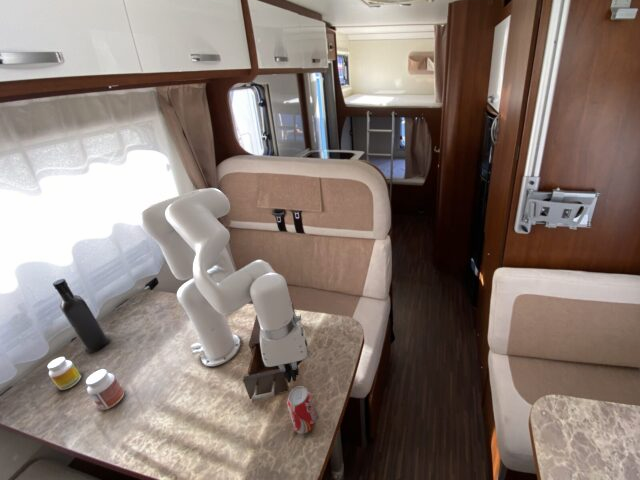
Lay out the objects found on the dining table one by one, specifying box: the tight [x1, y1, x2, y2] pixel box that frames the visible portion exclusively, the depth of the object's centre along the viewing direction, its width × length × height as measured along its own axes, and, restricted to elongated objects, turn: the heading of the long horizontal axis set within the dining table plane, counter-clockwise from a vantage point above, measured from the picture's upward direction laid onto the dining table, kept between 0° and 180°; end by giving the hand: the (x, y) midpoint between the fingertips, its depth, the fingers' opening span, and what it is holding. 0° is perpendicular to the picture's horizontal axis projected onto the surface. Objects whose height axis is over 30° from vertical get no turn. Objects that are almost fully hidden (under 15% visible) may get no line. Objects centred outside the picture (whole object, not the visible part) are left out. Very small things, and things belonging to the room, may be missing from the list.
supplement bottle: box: [47, 356, 82, 391], centre depth 98 cm, size 5×5×10 cm
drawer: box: [242, 345, 290, 403], centre depth 94 cm, size 19×11×9 cm, turn 11°
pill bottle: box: [85, 368, 125, 411], centre depth 91 cm, size 6×6×11 cm
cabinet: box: [248, 302, 296, 355], centre depth 107 cm, size 16×13×11 cm
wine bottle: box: [52, 278, 109, 353], centre depth 107 cm, size 6×6×30 cm
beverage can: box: [286, 385, 317, 435], centre depth 82 cm, size 6×6×12 cm
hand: (292, 376), depth 77 cm, fingers closed
